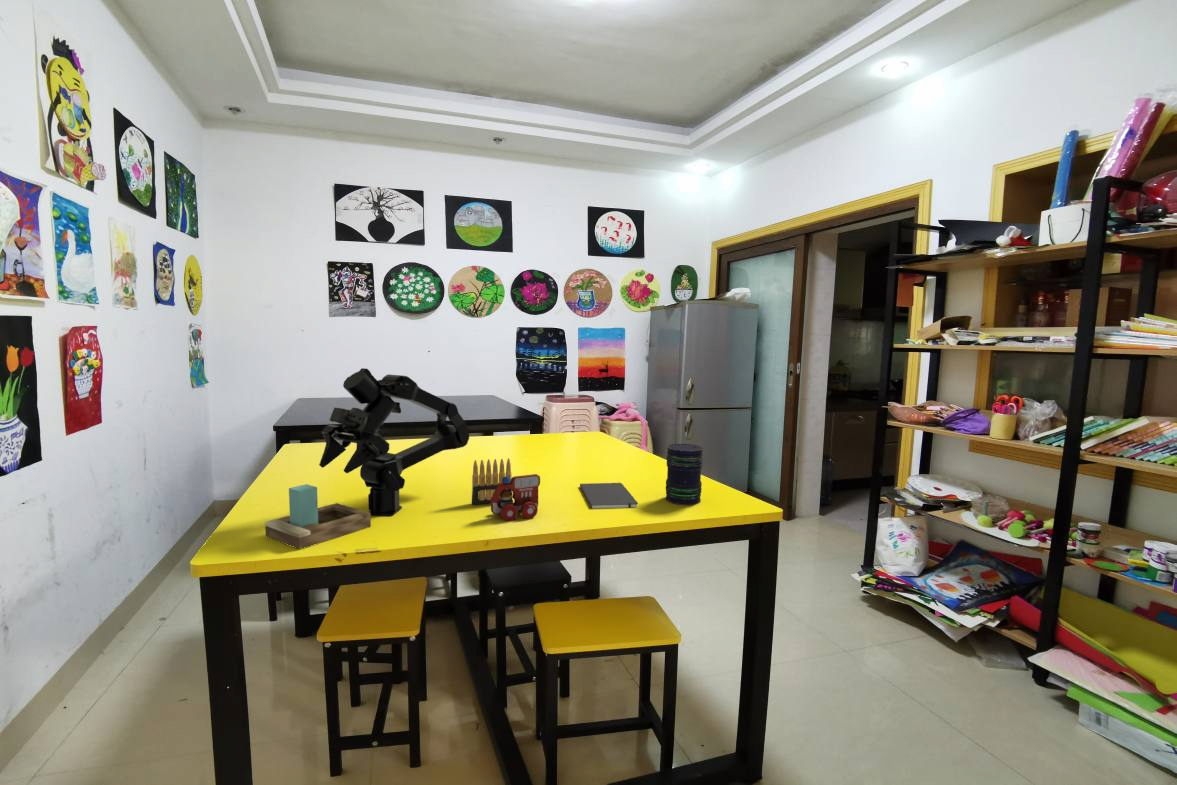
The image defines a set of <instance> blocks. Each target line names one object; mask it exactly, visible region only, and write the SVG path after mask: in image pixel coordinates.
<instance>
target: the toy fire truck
mask: <svg viewBox="0 0 1177 785" xmlns="http://www.w3.org/2000/svg"><path fill="white" fill-rule="evenodd" d="M540 484H541V476H540V475H539V474H538V473H534V474H533V473H532V474H523V475H516V476H512V479H511V480H510V478H509V477H508V476H505V477H504V478H503V479H502V483H500V484H498V486H497V488H496V490H495V492H494V494H493V496H492V498H491V504H490V511H491V513H492V514H493V515H500V516H501V518H502V519H503V520H504V521H506V522H512V521H515V519H516V518H517V516H518V512H520V513H521V516H522V517H524V518H525V519H527V520H530V519H533V518H535V517H536V516H537V514H538V510H539V509H538V507H539V487H540ZM509 489H511V490H512V492H511V490H509ZM500 497H501V498H500ZM511 498H512V499H511Z"/></svg>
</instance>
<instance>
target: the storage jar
mask: <svg viewBox="0 0 1177 785" xmlns="http://www.w3.org/2000/svg"><path fill="white" fill-rule="evenodd" d="M703 449H704V448H703V447H702V446H700V445H696V444H690V443H672V444H669V445H667V454H666V467H667V476H666V477H667V478H666V480H665V501H666V502H668V503H671V504H675V505H678V506H693V505H698V504H700V503H701V500H702V499H701V495H702V484H703V483H702V481H701V480H702V479H701V477H702V468H703V460H704V457H703Z"/></svg>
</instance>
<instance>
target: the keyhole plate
mask: <svg viewBox="0 0 1177 785" xmlns="http://www.w3.org/2000/svg"><path fill="white" fill-rule="evenodd" d="M371 522H372V515H371V513H369V511H366V510H362V509H358V508H355V507H351V506H349V505H344V504H340V503H337V502H335V503H332V504H328V505H325V506H324V505H323V506H321V507H318V523H313V524H309V525H306V526H302V527H298V526H295V525H292V524H290V515H287V516H283V517H278V518H276V519H271V520H267V521H264V524H265V526H264V528H265V537H266V536H267V537H266V538H268V537H269V538H268V539H270V538H272V539H271V540H273V539H274V541H276V540H277V541H276V542H278V541H280V542H279V543H281V542H283V543H282V544H284V543H286V544H288V545H287V546H289V545H291V546H294V547H296V548H295V549H297V548H299V549H300V550H302V549H301V548H303V549H305V548H304V547H307V546H310V547H312V546H311V545H313V546H315V545H314V544H316V545H318V543H319V544H322V543H324V541H325V542H328V541H331V540H334V539H337V538H340V537H344V536H346V535H349V534H354V533H356V532H358V531H362V530H364V528H365V529H368V528H371V527H372V523H371ZM370 526H371V527H370ZM367 527H368V528H367ZM361 529H362V530H361ZM321 542H322V543H321ZM286 544H285V545H286ZM291 546H290V547H291ZM294 547H293V548H294ZM307 548H308V547H307ZM299 549H298V550H299Z"/></svg>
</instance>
